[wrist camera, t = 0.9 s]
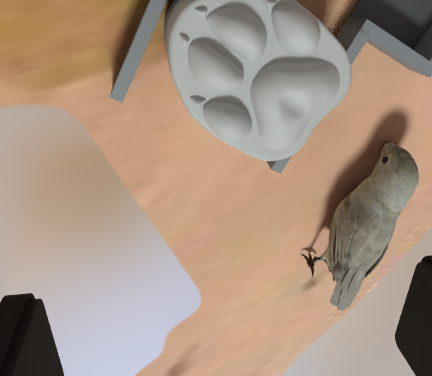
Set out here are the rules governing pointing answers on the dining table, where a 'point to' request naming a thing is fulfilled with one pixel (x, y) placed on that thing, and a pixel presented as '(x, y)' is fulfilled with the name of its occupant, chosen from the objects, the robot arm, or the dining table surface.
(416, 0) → the lane box
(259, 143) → the lumpy-topped squat cylinder
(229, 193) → the dining table surface
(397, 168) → the decorative bird
